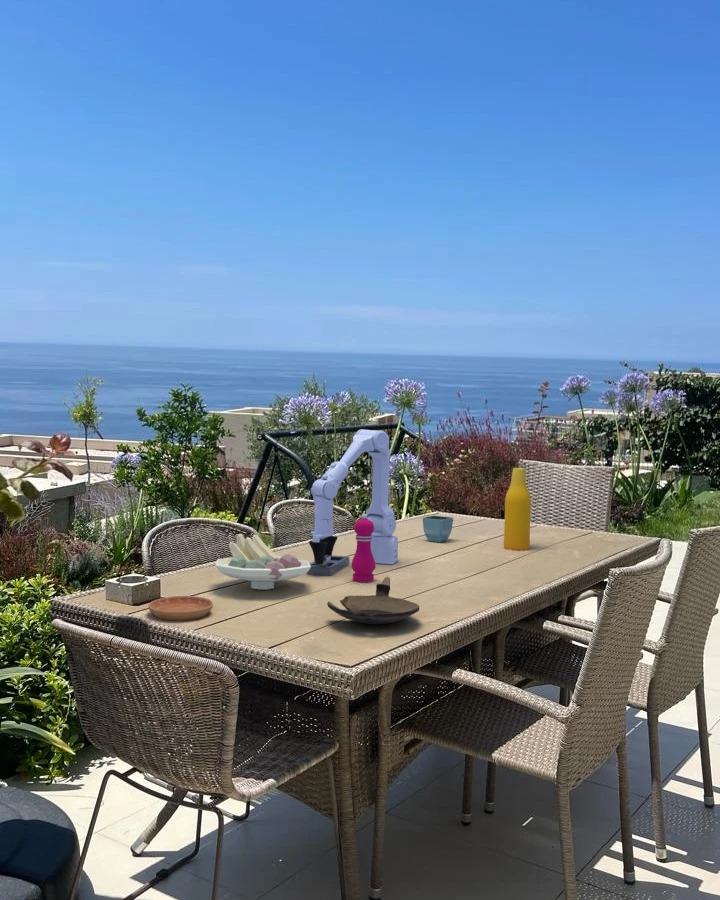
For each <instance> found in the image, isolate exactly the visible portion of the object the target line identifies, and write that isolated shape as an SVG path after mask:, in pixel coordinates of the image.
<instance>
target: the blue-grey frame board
mask: <svg viewBox="0 0 720 900" xmlns="http://www.w3.org/2000/svg"><path fill="white" fill-rule="evenodd" d="M309 564H310V566H311V568H310V569H309V571H308V572H307V573H306V574H305V575H314V576H315V575H316V576H324V577H325V576H327V577H331V576H332V575H334V574H336V573H337V572H340V571H341V570H342V569H344V568H345V567H347V566H349V565H350V556H344V555H332V556H331V565H330V566H316V565H314V561H312V562H309Z"/></svg>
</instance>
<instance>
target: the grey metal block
mask: <svg viewBox="0 0 720 900" xmlns="http://www.w3.org/2000/svg"><path fill="white" fill-rule="evenodd" d="M313 562H314V565H316V566H330V565H331V556H330V555H327V554H324V561H323V564H316V563H315V559H314V558H313Z"/></svg>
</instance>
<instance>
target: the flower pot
mask: <svg viewBox="0 0 720 900" xmlns="http://www.w3.org/2000/svg"><path fill="white" fill-rule="evenodd" d="M453 522H454V517H453V516H452V517H450V516H441V515H431V516H426V517H425V516H424V517H422V527H423V528H422V529H423V533H424V536H425V537H426V538H427V541H429V542H434V543H435V542H436V543H442V542H446V541H447V540H448V539H449V538H450V535H451V533H452V530H453V525H454V524H453Z"/></svg>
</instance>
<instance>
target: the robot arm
mask: <svg viewBox="0 0 720 900" xmlns="http://www.w3.org/2000/svg"><path fill="white" fill-rule="evenodd" d="M363 453H368V455H369V456H370V457H372V483H371V484H372V485H371V505H370V506H369V507H368V508H367V509H366V511H365V514H366V515H367V519H368V520H370V521H372V522H373V524H374V531H373V533H372V534H371V535H372V540H371V551H372V555H373V557H374V560H375V564H381V565H382V564H383V565H394V564H395V563H396V562H398V561H399V557H398V555H399V554H398V553H399V541H398V540H399V539H398V536H397V535H393V534H394V533H395V531H396V528H397V521H396V517H395V512H394V510H393V509H392V508H391V507H390V506H389V493H390V492H389V490H390V464H391V463H390V460H391V459H390V458H391V457H390V456H391V452H390V436H389V435H388V433H386V431H384V430H381V429H380V430H376V429H375V430H373V429H372V430H371V429H364V428H361V429H359V430H357V431H356V433H355V435H354V436H353V437H352V442H351V444H350V446H349V447H348V448H347V449H346V451H345V452H344V454H343V456H341V459H340V460H339V461H333V462H331V464H330V467H329V468H328V469H327V470H326V471H325V473H324V474H323V475H322V476H321V478H318V479H316V480H315V481H314V482H313V483H312V486H311V488H310V493H311V495H312V498H313V502H314V530H312V531H310V535H312V540H309V542H308V543H309V547H310V548H311V550H312V554H313V560H314V559H315V563H316V564H323V561H324V554H327V555H330V556H332V554H333V551H334V547H335V545H336V542H337V541H338V536H336V535H335V528H334V527H333V526H334V498H335V497H336V496H337V494H338V492H339V488H340V485H341V483H342V482H343V481H344V480H345V479H346V477H347V476H348V475H349V468H350V467H351V466H352V465H353V463H355V462H356V460H357V459H358V458H359V457H360V456H361V455H362V454H363Z"/></svg>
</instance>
